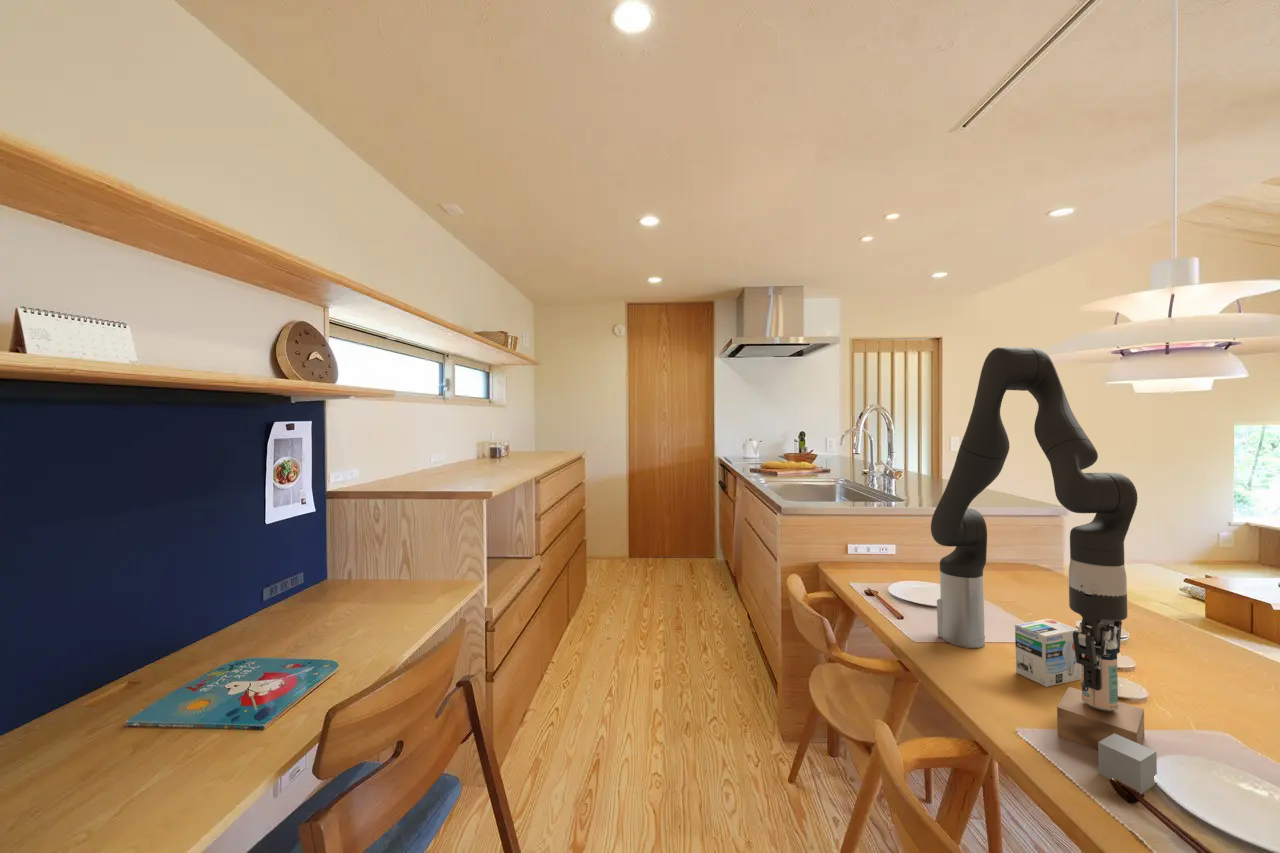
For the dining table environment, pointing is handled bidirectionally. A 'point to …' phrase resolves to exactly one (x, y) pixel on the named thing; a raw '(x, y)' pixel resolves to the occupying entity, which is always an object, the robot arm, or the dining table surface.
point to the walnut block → (1097, 721)
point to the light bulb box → (1046, 652)
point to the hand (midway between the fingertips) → (1098, 683)
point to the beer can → (1104, 682)
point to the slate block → (1127, 762)
